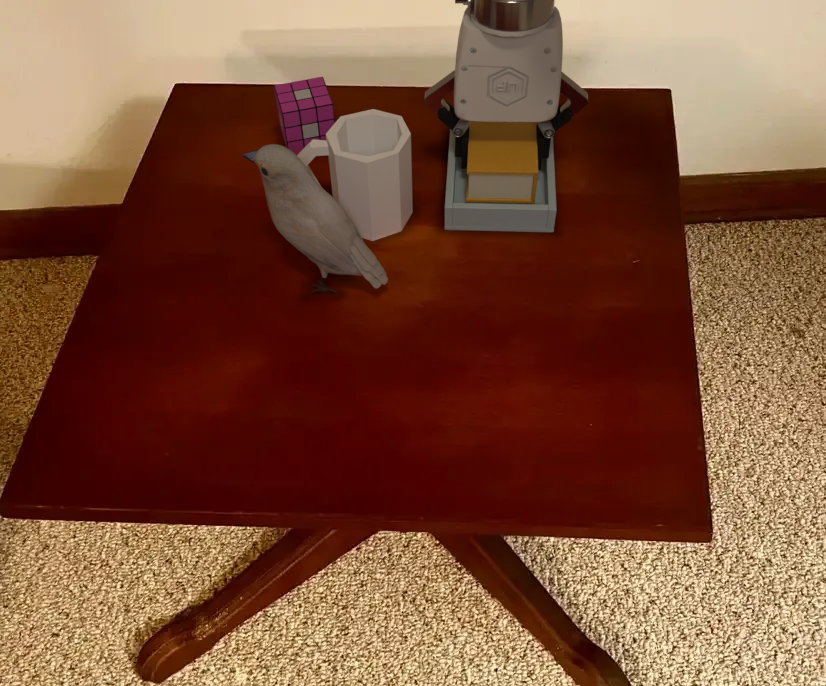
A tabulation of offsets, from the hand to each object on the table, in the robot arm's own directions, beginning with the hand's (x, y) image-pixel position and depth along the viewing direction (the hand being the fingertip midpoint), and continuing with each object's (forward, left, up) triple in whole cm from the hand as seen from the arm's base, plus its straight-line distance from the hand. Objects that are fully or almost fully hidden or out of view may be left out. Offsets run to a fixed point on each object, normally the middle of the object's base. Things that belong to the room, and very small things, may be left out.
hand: (500, 160), depth 92 cm
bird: (+17, +16, -3) cm, 24 cm away
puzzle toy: (+22, -7, -3) cm, 23 cm away
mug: (+15, +6, -3) cm, 16 cm away
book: (0, 0, -1) cm, 1 cm away
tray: (0, 0, -3) cm, 3 cm away
